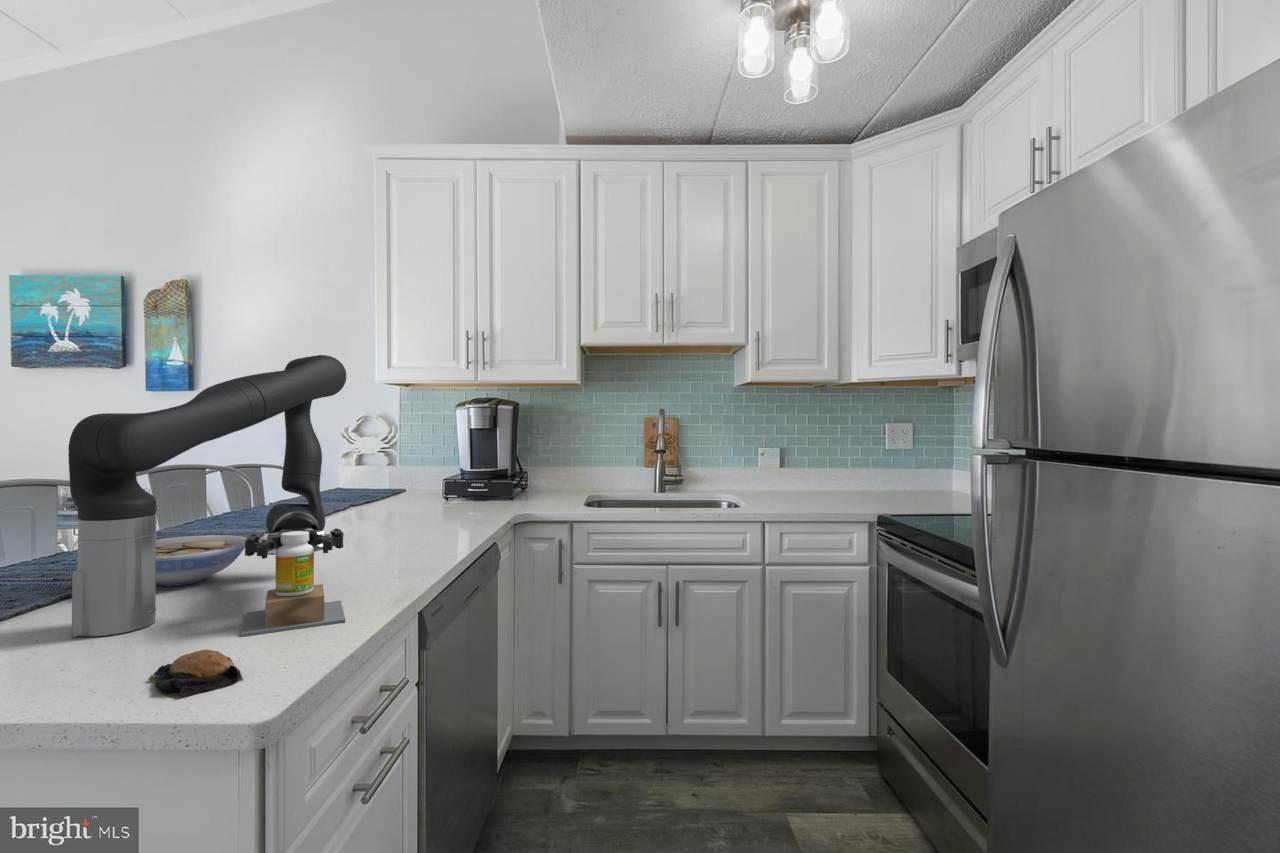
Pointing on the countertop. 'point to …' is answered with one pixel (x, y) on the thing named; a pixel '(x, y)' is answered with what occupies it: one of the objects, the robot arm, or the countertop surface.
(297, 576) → the supplement bottle
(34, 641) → the countertop surface
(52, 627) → the countertop surface
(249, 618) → the mat
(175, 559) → the ramen bowl
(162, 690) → the bread roll
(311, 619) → the walnut block
